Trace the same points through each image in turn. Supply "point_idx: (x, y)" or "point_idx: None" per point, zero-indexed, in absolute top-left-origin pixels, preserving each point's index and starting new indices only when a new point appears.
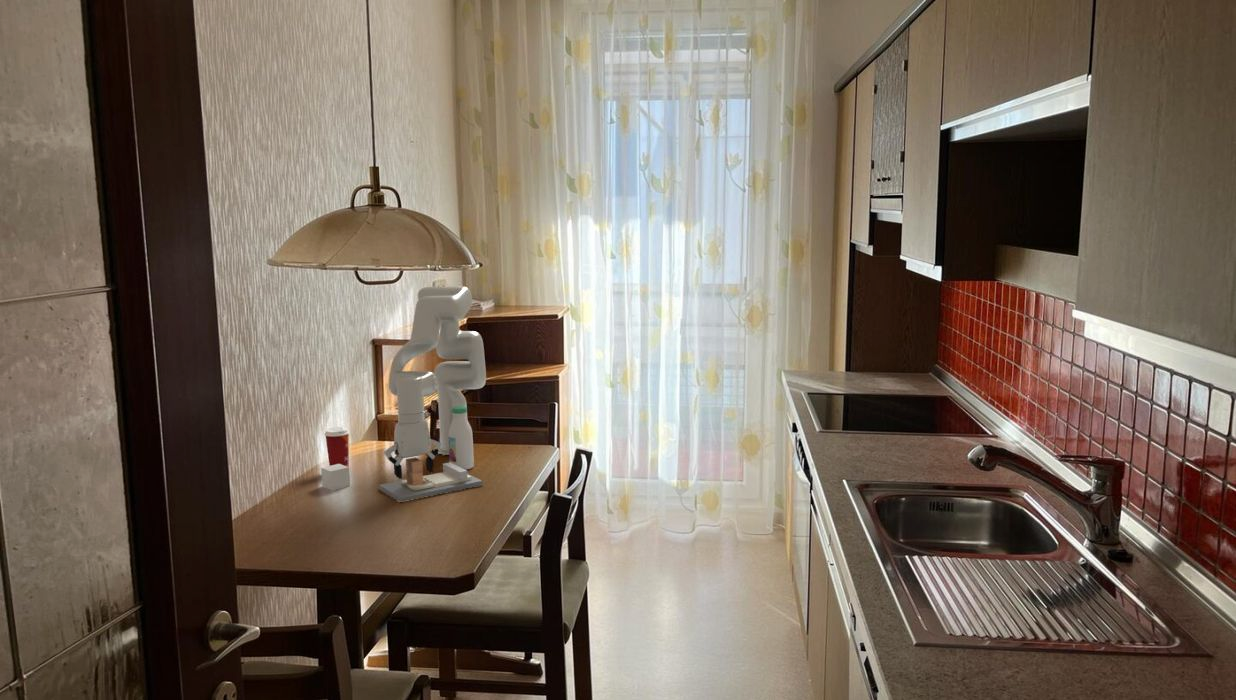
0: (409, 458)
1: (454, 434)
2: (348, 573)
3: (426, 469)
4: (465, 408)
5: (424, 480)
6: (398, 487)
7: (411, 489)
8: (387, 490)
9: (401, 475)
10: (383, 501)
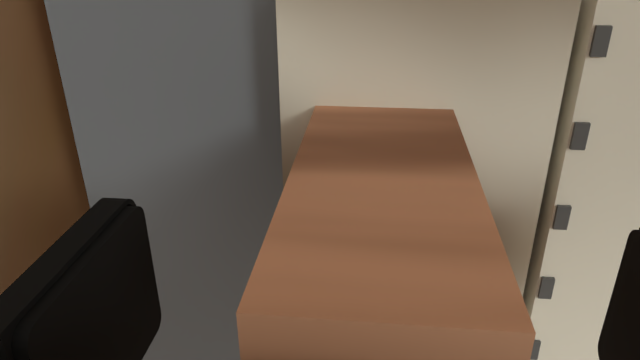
0: (343, 337)
1: None
2: None
3: (636, 239)
4: None
5: (518, 197)
6: (202, 117)
7: None
8: (74, 124)
9: (143, 345)
10: (36, 245)
